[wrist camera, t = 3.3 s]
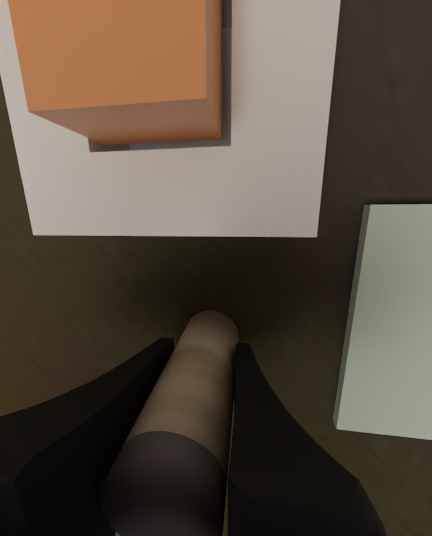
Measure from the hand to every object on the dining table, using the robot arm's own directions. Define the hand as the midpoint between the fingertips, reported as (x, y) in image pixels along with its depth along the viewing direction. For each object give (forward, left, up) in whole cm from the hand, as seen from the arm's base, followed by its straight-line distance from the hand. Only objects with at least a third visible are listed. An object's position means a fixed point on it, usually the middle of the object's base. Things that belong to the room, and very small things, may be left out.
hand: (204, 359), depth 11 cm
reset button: (+11, +1, +1) cm, 11 cm away
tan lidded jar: (0, 0, -2) cm, 2 cm away
